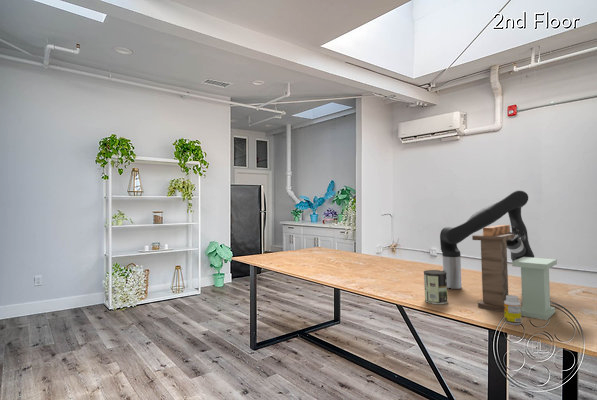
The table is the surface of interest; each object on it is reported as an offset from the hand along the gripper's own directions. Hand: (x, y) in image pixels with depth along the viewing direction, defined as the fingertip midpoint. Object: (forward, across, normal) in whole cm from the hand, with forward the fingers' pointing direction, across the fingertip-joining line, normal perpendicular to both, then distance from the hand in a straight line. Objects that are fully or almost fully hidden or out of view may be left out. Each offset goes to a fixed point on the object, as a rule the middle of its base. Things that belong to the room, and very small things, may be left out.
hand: (503, 228), depth 166 cm
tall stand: (-6, 0, +36) cm, 36 cm away
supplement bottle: (+11, +12, +46) cm, 48 cm away
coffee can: (+3, -23, +41) cm, 47 cm away
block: (+6, 0, +6) cm, 8 cm away
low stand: (-6, +16, +36) cm, 40 cm away
